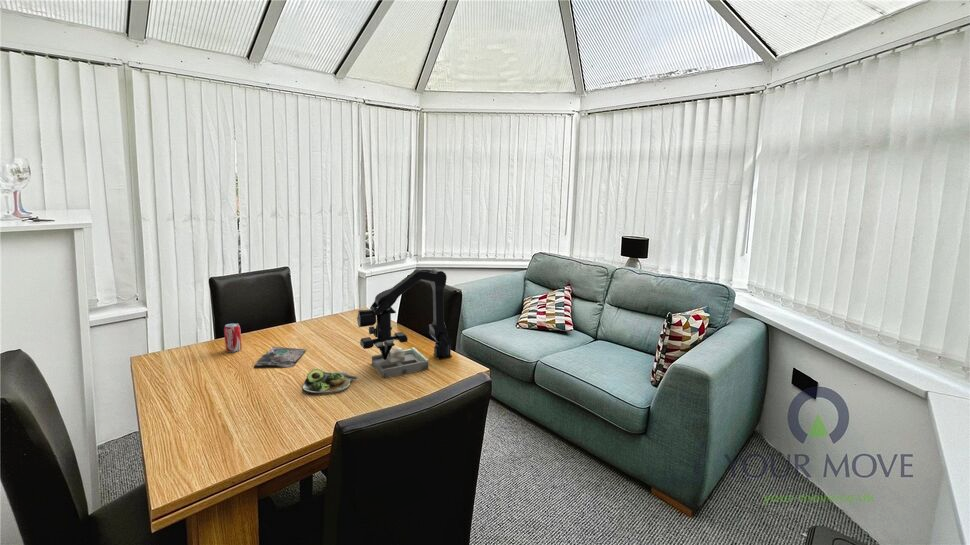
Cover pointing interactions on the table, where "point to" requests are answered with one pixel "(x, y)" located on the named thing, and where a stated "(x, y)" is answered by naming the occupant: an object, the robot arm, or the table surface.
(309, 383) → the salad plate
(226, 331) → the soda can
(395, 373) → the box
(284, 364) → the terrain model
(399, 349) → the cream block
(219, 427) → the table surface
